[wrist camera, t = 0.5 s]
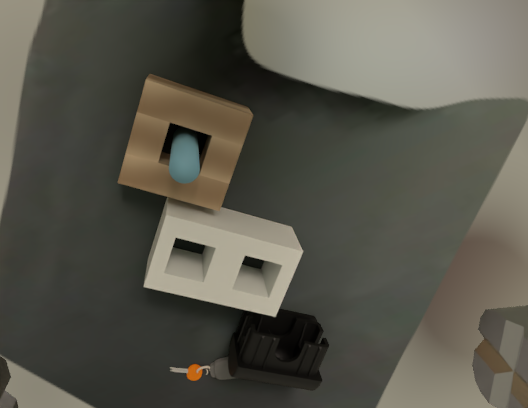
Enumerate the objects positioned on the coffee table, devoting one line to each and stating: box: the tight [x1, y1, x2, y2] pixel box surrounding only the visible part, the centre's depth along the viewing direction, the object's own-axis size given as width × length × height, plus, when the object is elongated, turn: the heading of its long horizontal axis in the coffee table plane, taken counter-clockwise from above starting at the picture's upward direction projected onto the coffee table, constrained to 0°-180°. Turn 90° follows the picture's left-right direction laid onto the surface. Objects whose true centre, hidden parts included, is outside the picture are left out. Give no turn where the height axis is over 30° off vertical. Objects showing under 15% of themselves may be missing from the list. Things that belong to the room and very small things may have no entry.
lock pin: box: [169, 127, 200, 183], centre depth 44 cm, size 2×2×10 cm
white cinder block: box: [143, 197, 303, 317], centre depth 51 cm, size 8×14×6 cm, turn 70°
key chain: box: [170, 357, 234, 381], centre depth 60 cm, size 13×4×2 cm, turn 96°
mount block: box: [118, 74, 253, 211], centre depth 47 cm, size 10×10×4 cm
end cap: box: [228, 309, 329, 390], centre depth 56 cm, size 10×7×7 cm
